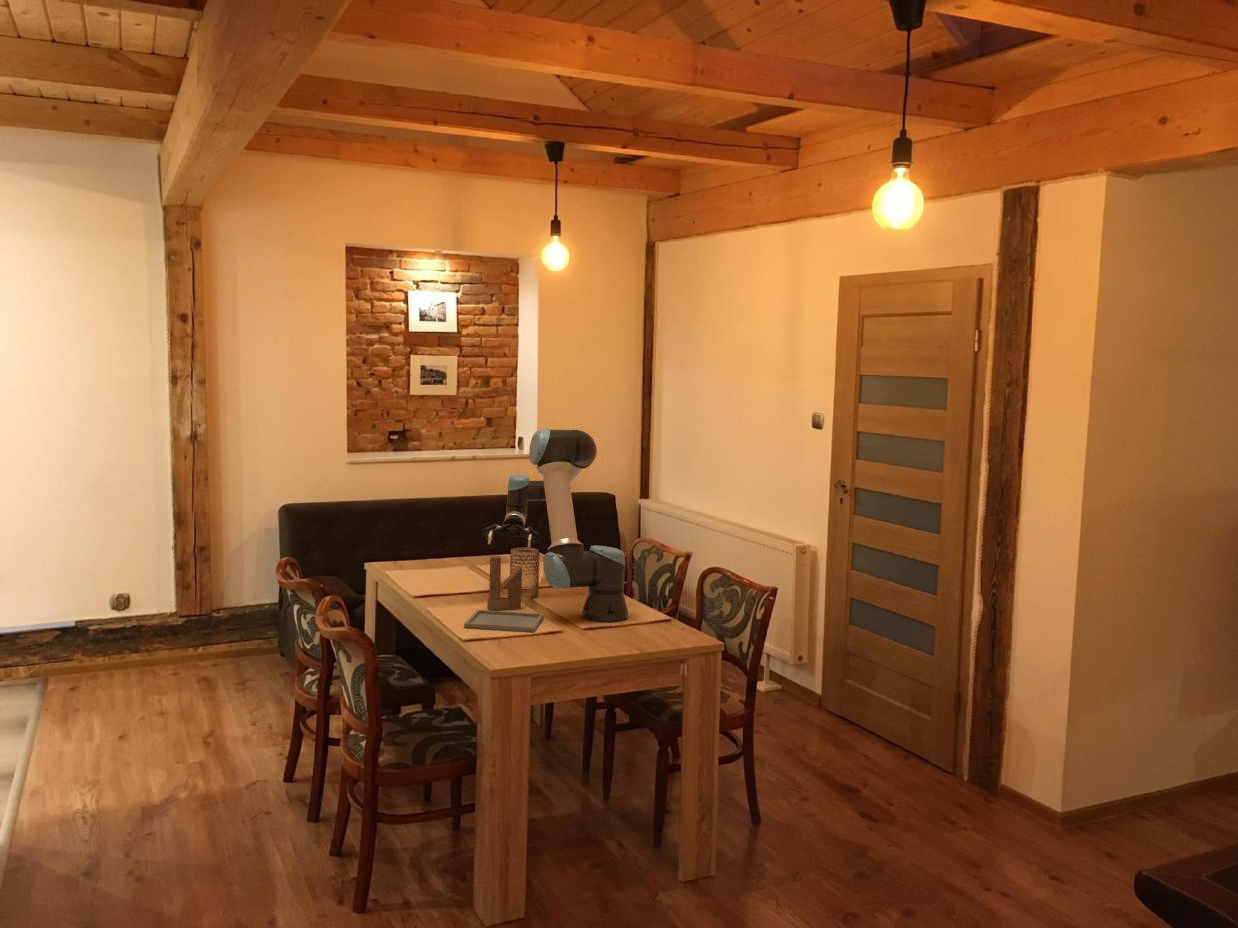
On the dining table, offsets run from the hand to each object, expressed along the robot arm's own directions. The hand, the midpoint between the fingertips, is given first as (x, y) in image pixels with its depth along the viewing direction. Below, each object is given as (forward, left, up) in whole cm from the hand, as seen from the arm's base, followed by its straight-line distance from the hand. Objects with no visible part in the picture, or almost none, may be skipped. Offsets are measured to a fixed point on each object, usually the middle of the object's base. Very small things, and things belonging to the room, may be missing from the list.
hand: (509, 541), depth 362 cm
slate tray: (-13, +23, -21) cm, 34 cm away
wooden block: (-3, +7, -22) cm, 23 cm away
